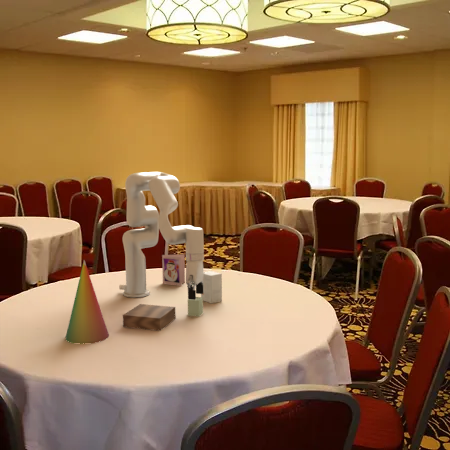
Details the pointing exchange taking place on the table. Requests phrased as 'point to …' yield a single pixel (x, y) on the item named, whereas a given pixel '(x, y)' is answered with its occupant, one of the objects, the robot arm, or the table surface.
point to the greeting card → (173, 269)
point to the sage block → (195, 307)
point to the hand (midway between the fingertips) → (195, 296)
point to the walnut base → (149, 317)
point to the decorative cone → (86, 314)
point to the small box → (212, 287)
